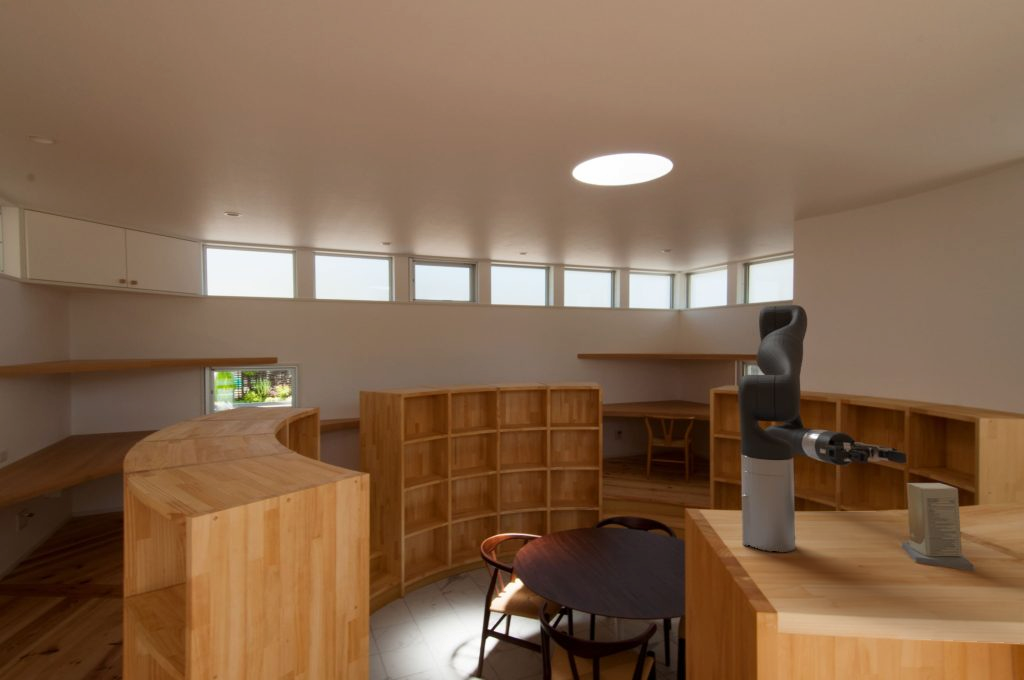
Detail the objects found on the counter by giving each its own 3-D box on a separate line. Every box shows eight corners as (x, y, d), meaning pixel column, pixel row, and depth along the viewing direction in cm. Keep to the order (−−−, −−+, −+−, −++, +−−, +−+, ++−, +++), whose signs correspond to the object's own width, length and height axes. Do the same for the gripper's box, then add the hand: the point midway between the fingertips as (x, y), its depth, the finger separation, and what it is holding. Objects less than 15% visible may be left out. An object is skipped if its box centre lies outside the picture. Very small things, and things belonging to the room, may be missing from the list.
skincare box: (943, 548, 92) (941, 482, 93) (963, 557, 88) (960, 488, 88) (907, 547, 93) (905, 481, 93) (924, 556, 88) (922, 487, 89)
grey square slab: (915, 562, 88) (915, 556, 88) (902, 547, 95) (902, 541, 96) (973, 570, 85) (973, 564, 85) (955, 553, 92) (955, 548, 92)
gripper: (799, 430, 118) (853, 439, 101) (855, 430, 119) (916, 440, 103) (800, 462, 117) (854, 476, 101) (856, 462, 118) (918, 476, 102)
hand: (885, 458), depth 102 cm, fingers open, 8 cm apart
